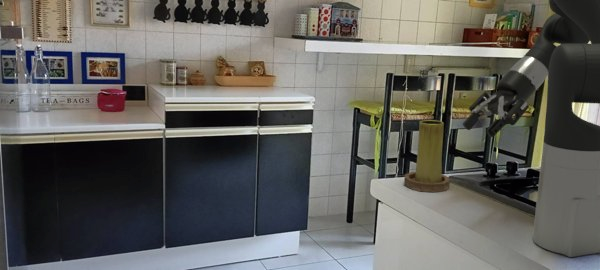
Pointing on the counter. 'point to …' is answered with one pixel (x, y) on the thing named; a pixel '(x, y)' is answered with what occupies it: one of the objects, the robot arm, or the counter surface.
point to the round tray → (426, 184)
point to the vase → (429, 152)
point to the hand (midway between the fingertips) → (476, 131)
